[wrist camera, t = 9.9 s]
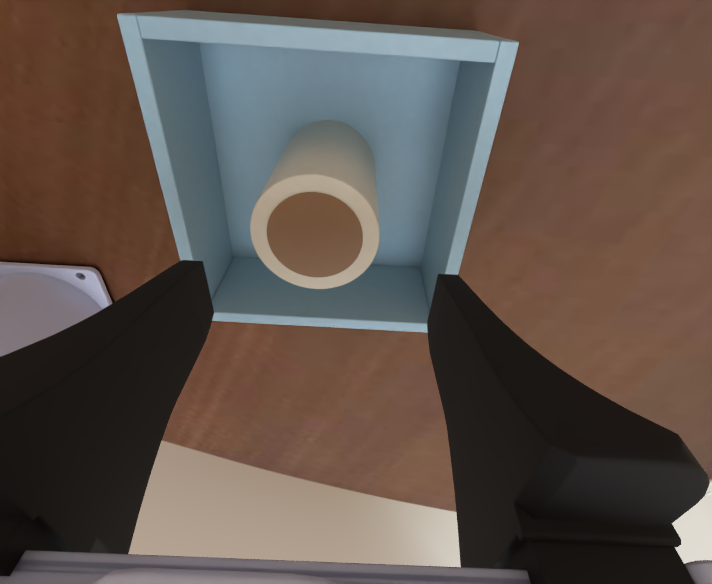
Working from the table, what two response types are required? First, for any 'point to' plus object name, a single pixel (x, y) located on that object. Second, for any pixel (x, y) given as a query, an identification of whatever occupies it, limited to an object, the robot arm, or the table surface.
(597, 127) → the table surface
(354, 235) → the paper roll
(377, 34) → the light blue open box
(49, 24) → the table surface
